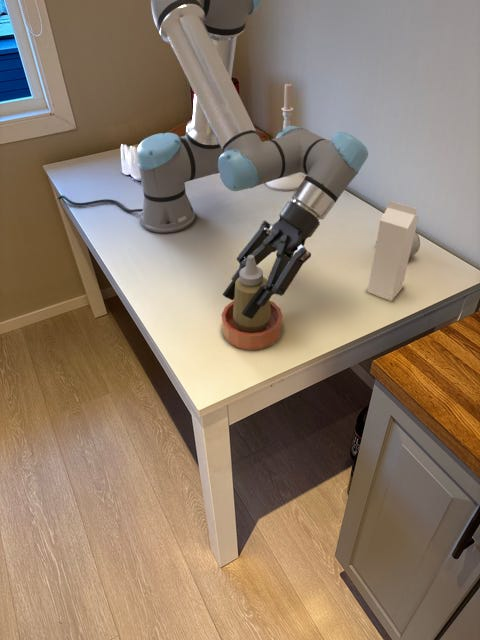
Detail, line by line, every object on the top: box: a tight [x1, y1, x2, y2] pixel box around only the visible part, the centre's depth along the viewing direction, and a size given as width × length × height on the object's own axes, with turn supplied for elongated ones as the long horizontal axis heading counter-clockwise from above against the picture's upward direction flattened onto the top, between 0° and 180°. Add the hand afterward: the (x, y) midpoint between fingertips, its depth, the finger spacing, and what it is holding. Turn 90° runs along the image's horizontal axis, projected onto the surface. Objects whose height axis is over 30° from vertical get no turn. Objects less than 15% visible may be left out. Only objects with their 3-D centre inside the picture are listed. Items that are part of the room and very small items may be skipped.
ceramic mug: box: [375, 230, 421, 258], centre depth 122 cm, size 11×8×8 cm
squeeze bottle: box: [233, 255, 271, 333], centre depth 98 cm, size 8×8×18 cm
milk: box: [367, 200, 420, 302], centre depth 106 cm, size 6×6×22 cm
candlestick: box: [265, 82, 305, 192], centre depth 148 cm, size 13×13×30 cm
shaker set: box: [120, 143, 142, 182], centre depth 160 cm, size 12×4×11 cm, turn 39°
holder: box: [220, 300, 284, 351], centre depth 103 cm, size 13×13×4 cm
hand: (236, 306), depth 97 cm, fingers closed on squeeze bottle, 6 cm apart
